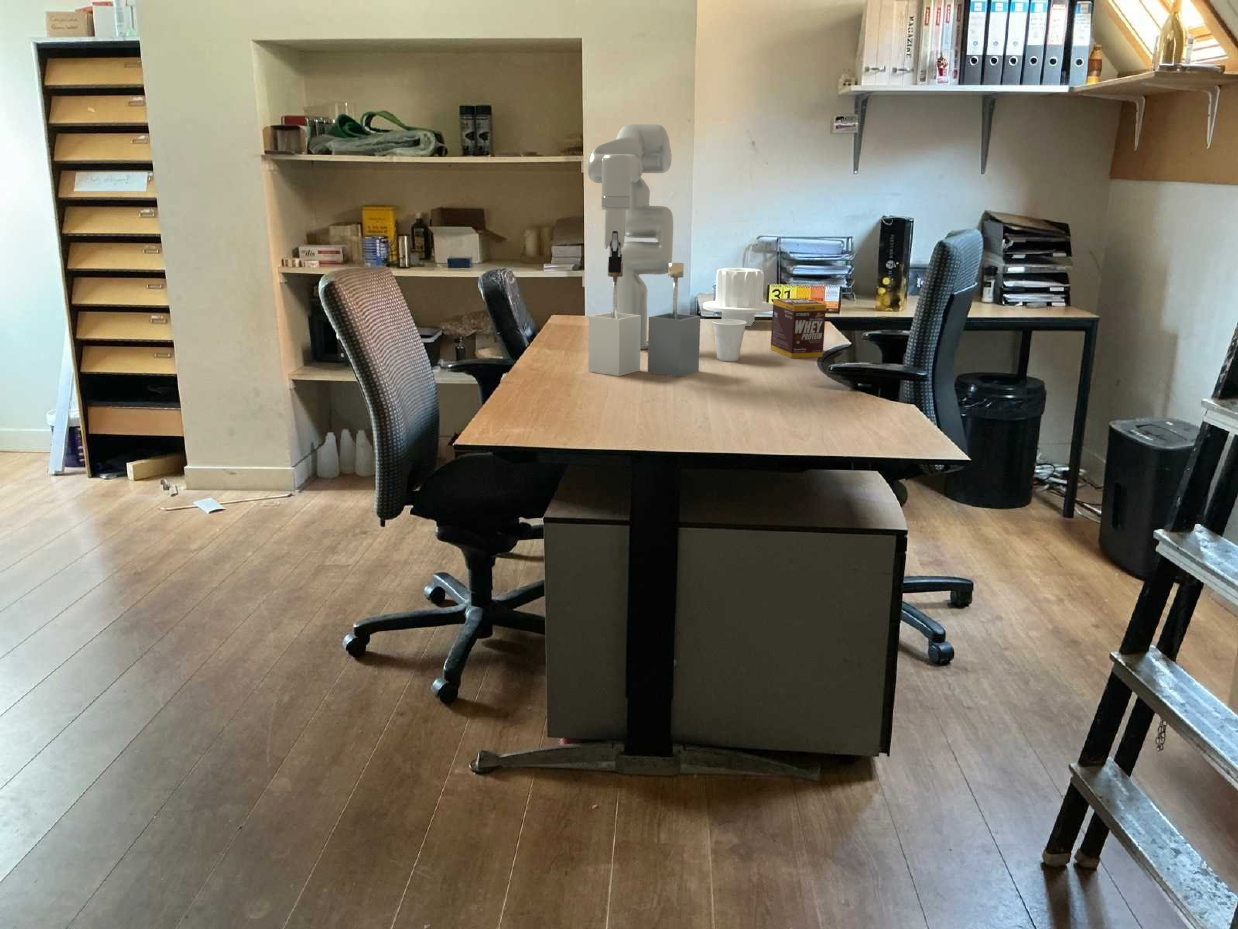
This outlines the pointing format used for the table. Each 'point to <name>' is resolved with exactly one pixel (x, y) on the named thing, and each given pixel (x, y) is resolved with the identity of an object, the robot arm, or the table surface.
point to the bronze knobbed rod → (615, 288)
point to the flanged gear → (739, 294)
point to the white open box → (614, 343)
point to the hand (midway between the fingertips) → (615, 270)
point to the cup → (728, 338)
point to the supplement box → (798, 327)
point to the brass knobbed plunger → (675, 282)
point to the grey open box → (673, 344)
